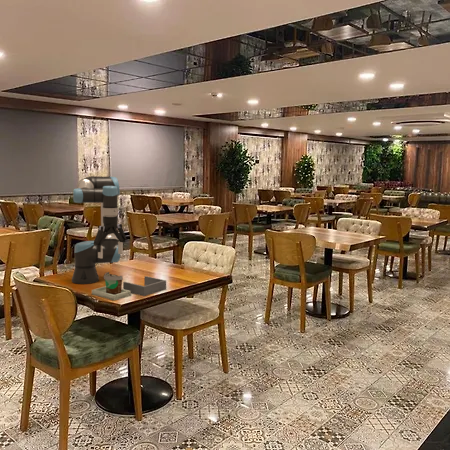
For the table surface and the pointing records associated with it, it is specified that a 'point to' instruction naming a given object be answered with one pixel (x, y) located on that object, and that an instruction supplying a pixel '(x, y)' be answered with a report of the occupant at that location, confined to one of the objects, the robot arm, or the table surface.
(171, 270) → the table surface
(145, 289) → the bay
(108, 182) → the robot arm
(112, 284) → the food container
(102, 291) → the tray
